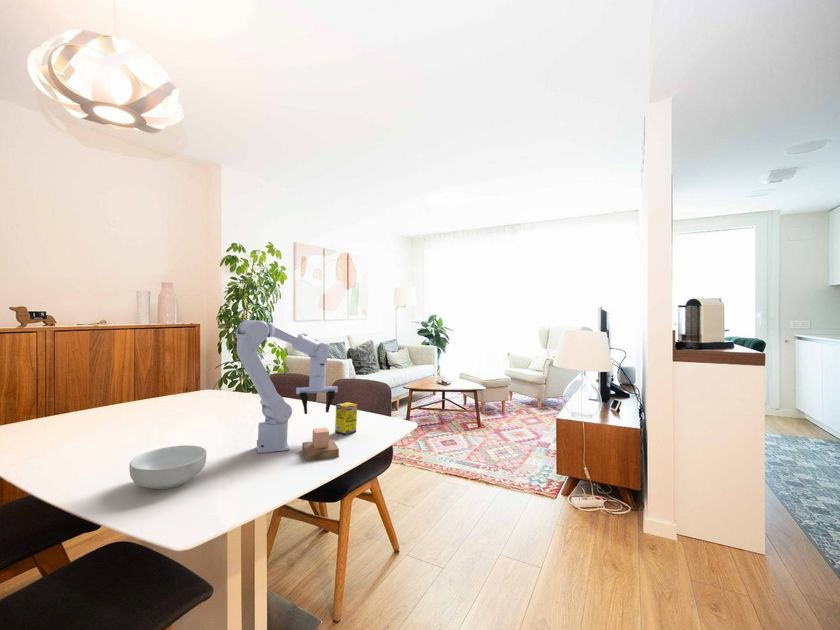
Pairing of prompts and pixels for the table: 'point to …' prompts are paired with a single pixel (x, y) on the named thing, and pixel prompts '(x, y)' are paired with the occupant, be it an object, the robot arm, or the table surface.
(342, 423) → the supplement box
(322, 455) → the walnut base
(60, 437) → the table surface
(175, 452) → the cereal bowl
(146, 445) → the table surface
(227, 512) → the table surface
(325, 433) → the terracotta block
